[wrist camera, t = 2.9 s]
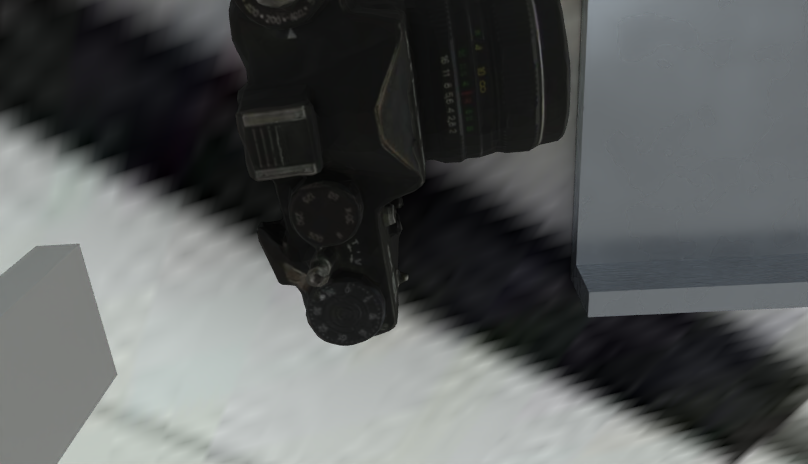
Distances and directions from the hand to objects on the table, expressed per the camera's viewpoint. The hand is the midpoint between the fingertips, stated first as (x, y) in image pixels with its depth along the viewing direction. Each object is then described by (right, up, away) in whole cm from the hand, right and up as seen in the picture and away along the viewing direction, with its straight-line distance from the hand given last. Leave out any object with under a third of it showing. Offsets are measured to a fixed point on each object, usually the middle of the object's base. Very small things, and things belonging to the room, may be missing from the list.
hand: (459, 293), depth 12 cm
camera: (-1, +7, +17) cm, 18 cm away
